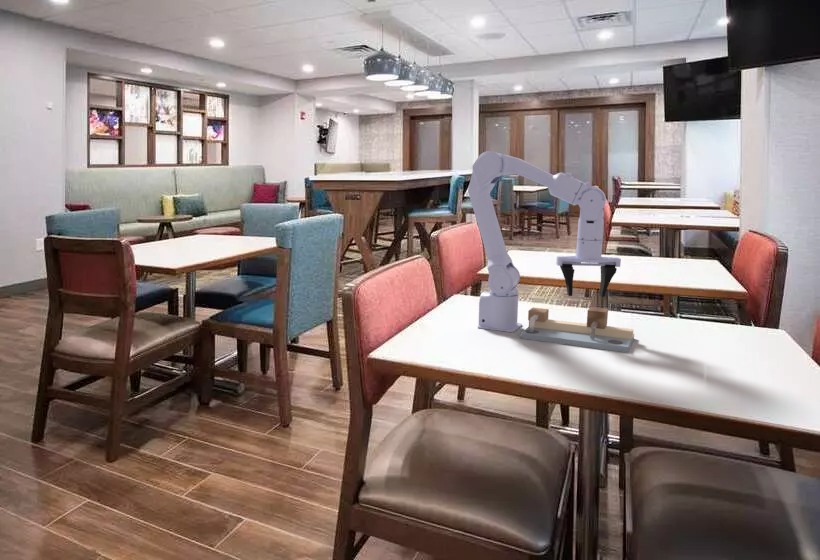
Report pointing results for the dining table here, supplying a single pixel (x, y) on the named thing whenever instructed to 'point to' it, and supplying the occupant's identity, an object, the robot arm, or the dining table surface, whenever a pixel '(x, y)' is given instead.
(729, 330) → the dining table surface
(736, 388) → the dining table surface
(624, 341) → the gauge board
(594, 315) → the slider
